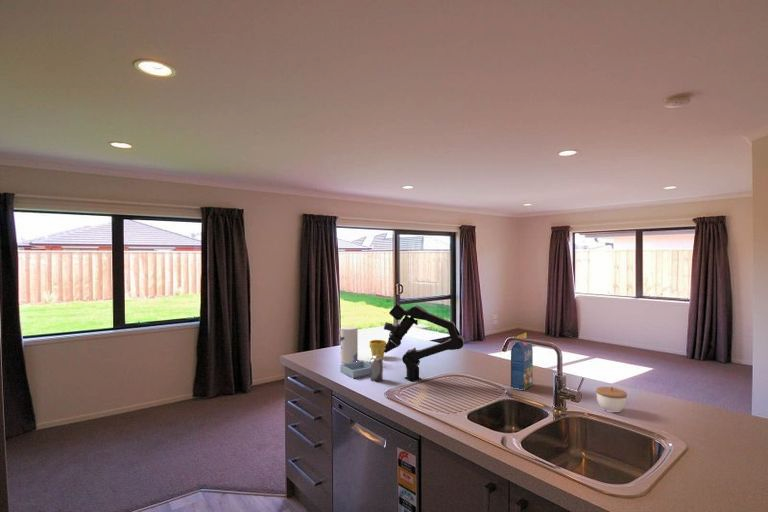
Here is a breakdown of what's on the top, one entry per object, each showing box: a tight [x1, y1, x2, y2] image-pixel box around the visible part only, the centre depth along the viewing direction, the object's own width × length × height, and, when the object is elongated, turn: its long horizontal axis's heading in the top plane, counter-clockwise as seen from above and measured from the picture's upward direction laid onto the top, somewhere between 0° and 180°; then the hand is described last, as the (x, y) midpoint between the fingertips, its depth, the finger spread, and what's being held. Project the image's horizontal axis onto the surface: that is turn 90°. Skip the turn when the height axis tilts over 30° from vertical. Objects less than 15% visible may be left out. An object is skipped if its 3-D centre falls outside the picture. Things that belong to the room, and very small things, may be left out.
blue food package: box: [510, 332, 534, 391], centre depth 186 cm, size 6×12×25 cm, turn 140°
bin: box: [339, 360, 371, 379], centre depth 208 cm, size 14×14×4 cm
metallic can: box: [370, 355, 384, 383], centre depth 196 cm, size 6×6×12 cm
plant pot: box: [369, 339, 387, 359], centre depth 239 cm, size 10×10×10 cm
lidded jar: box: [595, 386, 628, 412], centre depth 158 cm, size 11×11×9 cm
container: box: [340, 325, 359, 364], centre depth 231 cm, size 10×10×20 cm
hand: (385, 350), depth 198 cm, fingers open, 9 cm apart
